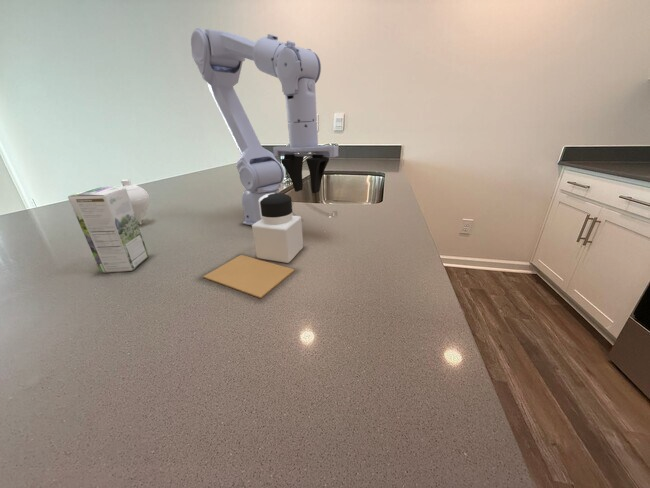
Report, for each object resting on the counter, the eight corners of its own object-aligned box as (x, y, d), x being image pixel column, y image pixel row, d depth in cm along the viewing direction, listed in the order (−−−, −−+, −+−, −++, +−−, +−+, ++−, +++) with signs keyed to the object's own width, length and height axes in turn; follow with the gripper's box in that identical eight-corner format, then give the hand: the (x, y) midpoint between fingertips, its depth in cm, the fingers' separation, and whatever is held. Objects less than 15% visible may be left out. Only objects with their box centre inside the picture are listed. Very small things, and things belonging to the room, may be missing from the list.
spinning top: (163, 219, 73) (150, 176, 68) (143, 230, 66) (127, 183, 61) (138, 219, 74) (123, 176, 68) (116, 229, 67) (97, 183, 62)
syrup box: (120, 258, 52) (90, 187, 46) (150, 256, 52) (125, 185, 46) (100, 273, 47) (64, 195, 41) (134, 271, 47) (103, 193, 41)
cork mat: (203, 277, 45) (203, 276, 45) (241, 255, 52) (241, 254, 52) (261, 298, 39) (260, 297, 39) (294, 270, 46) (294, 269, 46)
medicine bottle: (303, 247, 54) (300, 191, 49) (288, 263, 48) (282, 202, 43) (274, 243, 57) (267, 189, 51) (256, 258, 51) (246, 199, 45)
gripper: (260, 124, 50) (269, 192, 56) (325, 120, 44) (328, 198, 50) (282, 123, 56) (288, 186, 62) (342, 120, 50) (343, 190, 55)
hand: (307, 191), depth 56 cm, fingers open, 4 cm apart
